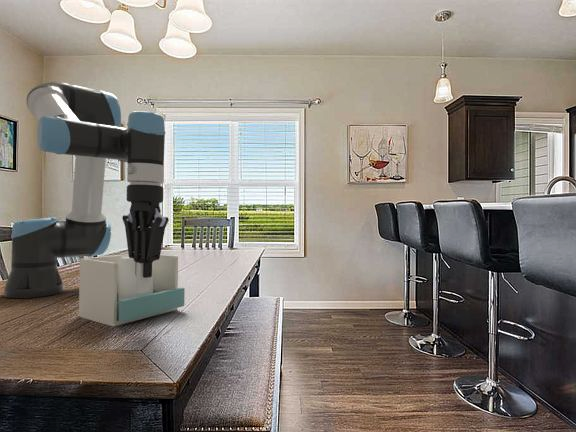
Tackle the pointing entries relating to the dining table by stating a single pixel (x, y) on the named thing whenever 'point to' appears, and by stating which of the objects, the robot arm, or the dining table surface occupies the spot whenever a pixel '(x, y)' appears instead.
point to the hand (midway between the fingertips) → (143, 291)
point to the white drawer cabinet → (116, 286)
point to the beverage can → (129, 279)
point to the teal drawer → (149, 304)
